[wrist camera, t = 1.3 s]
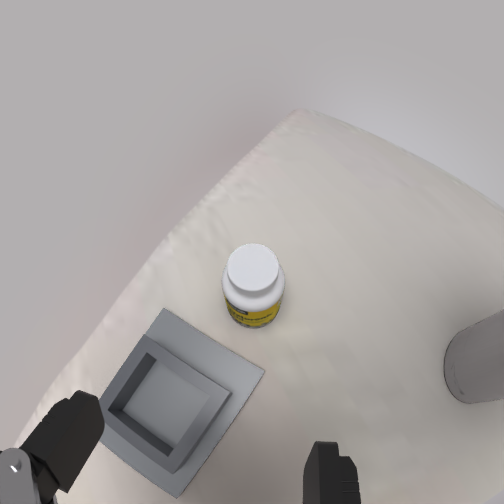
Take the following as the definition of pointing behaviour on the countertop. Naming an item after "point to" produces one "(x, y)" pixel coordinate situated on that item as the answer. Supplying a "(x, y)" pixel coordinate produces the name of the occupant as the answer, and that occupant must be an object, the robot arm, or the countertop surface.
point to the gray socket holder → (174, 401)
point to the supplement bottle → (253, 285)
